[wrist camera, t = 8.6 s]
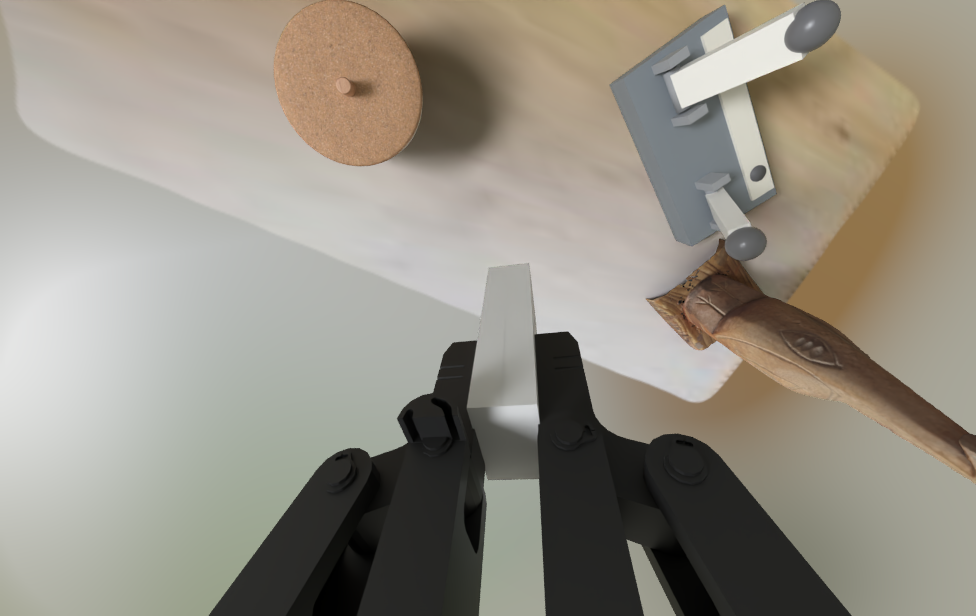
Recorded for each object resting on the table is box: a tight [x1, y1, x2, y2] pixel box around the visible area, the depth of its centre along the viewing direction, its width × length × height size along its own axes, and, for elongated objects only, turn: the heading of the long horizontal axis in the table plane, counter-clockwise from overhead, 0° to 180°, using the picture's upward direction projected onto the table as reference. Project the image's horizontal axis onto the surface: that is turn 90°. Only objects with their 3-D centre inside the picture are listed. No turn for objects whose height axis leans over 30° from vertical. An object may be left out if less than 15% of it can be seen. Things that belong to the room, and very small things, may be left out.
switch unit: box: [610, 5, 777, 246], centre depth 35 cm, size 10×19×6 cm, turn 34°
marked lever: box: [663, 0, 841, 113], centre depth 27 cm, size 3×4×12 cm
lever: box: [704, 187, 767, 261], centre depth 32 cm, size 3×4×12 cm
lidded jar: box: [274, 0, 423, 166], centre depth 29 cm, size 11×11×9 cm
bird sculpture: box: [646, 239, 976, 484], centre depth 31 cm, size 11×12×32 cm
